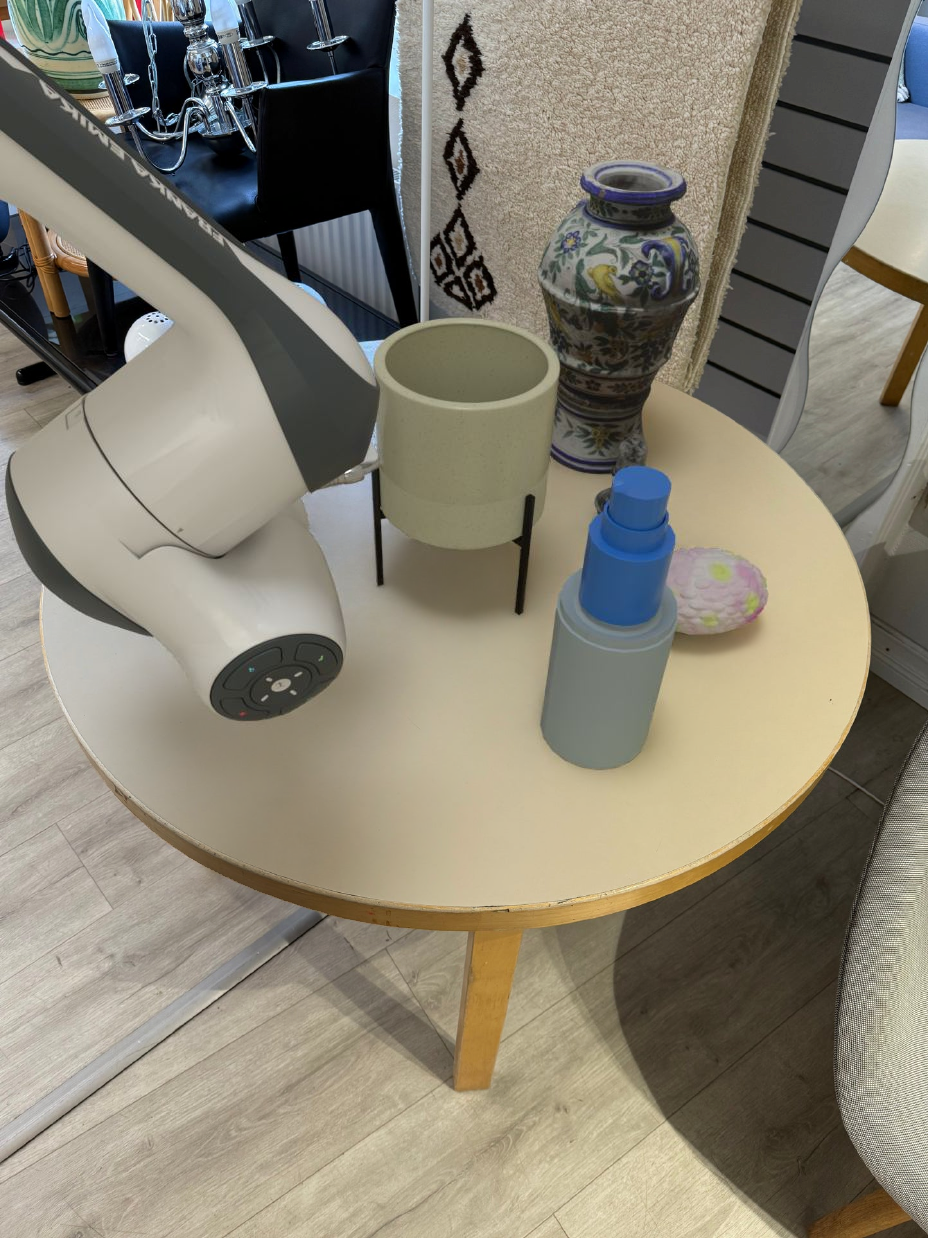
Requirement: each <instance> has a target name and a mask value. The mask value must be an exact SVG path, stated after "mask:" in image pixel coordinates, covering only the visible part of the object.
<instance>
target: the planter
mask: <svg viewBox="0 0 928 1238" xmlns="http://www.w3.org/2000/svg"><path fill="white" fill-rule="evenodd" d="M372 361H373V363H372V365H373V368H372V369H373V373H374V376H375V377H376V379H377V381H378V383H379V385H380V400H379V408H378V413H377V419H376V423H375V436H376V438H375V439H376V451H377V453H378V455H379V457H380V463H379V466H378V468H377V469H375V470H374V471H372V472H371V473H370V475H371V477H370V481H371V495H372V497H371V500H372V517H373V518H372V519H373V520H372V521H373V537H374V540H373V542H374V558H375V559H374V560H375V561H374V562H375V577H376V578H375V579H376V580H375V581H376V585H377V586H378V587H379V586H380V587H381V586H383V585H385V581H384V578H385V577H384V557H383V556H384V555H383V533H382V532H383V531H382V530H383V529H382V520H387V521H388V522H389V523H390V524H391V525H392V526H393V527H394V528H395V529H397V530H398V531H399V532H401V533H402V534H404V535H406V536H407V537H409V538H411V539H413V540H416V541H417V542H420V543H423V544H426V545H430V546H432V547H433V546H434V547H438V548H443V549H450V550H479V549H486V548H493V547H496V546H500V545H504V544H506V543H509V542H512V543H514V544H515V545H517V546H518V547H520V549H519V550H520V551H519V552H520V553H519V563H518V573H517V582H516V583H517V584H516V592H515V603H514V614H516V615H518V616H521V615H522V614H523V613H524V610H525V600H526V589H527V581H528V570H529V562H530V552H531V543H532V534H533V533H532V532H533V527H534V526H535V525H536V524H537V522H539V520H540V518H541V516H542V514H543V512H544V508H545V503H546V494H547V486H548V478H549V470H550V460H551V456H550V453H551V444H552V435H553V427H554V418H555V409H556V402H557V392H558V383H559V375H560V362H559V359H558V356H557V354H556V353H555V351H554V350H553V349H552V347H551V346H550V345H549V342H546V340H544V339H542V337H540V336H538V335H536V334H535V333H533V332H531V331H529V330H527V329H524V328H522V327H519V326H517V325H513V324H511V323H507V322H502V321H498V320H493V319H488V318H487V319H486V318H476V317H445V318H437V319H431V320H425V321H421V322H418V323H414V324H411V325H408V326H406V327H403V328H401V329H399V330H397V331H395V332H393V333H391V334H390V335H389V336H387V337H386V338H385V339H384V340H383V341H382V342H380V344H379V345H378V347H377V348H376V350H375V352H374V355H373V360H372Z"/></svg>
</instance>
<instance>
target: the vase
mask: <svg viewBox="0 0 928 1238" xmlns="http://www.w3.org/2000/svg"><path fill="white" fill-rule="evenodd" d="M579 179H580V180H579V185H580V187H581V189H582V190H583V191H584V192H585V193H586V194H588V195H589V197H583V198H581V199H580V200H579V201H578V202H577V203H576V205H575V207H573V208H572V209H571V210H570V211H569V212H568V213H567V215H566V216H565V217H564V218H563V219H562V221H560V223H558V225H557V226H556V227H555V229H554V230H553V231H552V232H551V234H550V235H549V237H548V238H547V241H546V243H545V246H544V249H543V251H542V255H541V261H540V262H539V264H538V267H537V272H536V273H537V275H536V276H537V283H538V284H539V288H540V290H541V293H542V297H543V301H544V306H545V310H546V314H547V315H546V316H547V320H548V329H549V339H548V344H549V345H550V346H551V347H552V349H553V350H554V351H555V353H556V354H557V356H558V359H559V362H560V375H559V383H558V392H557V401H556V409H555V418H554V427H553V435H552V444H551V453H550V458H552V459H554V460H555V461H557V463H559V464H561V465H563V466H565V467H567V468H569V469H571V470H574V471H578V472H582V473H587V474H595V475H606V474H607V475H609V474H611V469H612V467H613V466H615V465H616V463H617V457H618V452H619V446H620V444H621V443H622V442H623V441H624V440H625V439H628V438H633V437H632V435H634V434H635V433H637V434H638V435H639V438H638V439H641V440H643V441H644V442H645V438H644V437H645V436H644V429H643V418H642V415H643V409H644V407H645V404H646V401H648V398H649V397H650V394H651V391H652V384H653V382H654V380H655V378H656V376H657V374H658V372H659V370H660V369H661V368H662V367H663V366H664V365H666V364H667V363H668V361H670V359H671V357H672V355H673V347H674V345H675V341H676V339H677V336H678V334H679V331H680V329H681V327H682V325H683V322H684V320H685V318H686V315H687V314H688V312H689V309H690V307H691V306H692V305H693V304H694V303H695V301H696V300H697V298H698V296H699V294H700V291H701V288H702V287H701V286H702V283H701V282H702V281H701V277H700V272H701V271H700V269H701V266H700V265H701V263H700V255H699V254H700V253H699V249H698V245H697V241H696V240H695V238H694V236H693V234H692V232H691V230H689V228H688V227H687V225H686V224H685V223H684V222H683V221H682V220H681V219H680V218H679V217H678V216H677V215H676V214H675V213H674V211H673V210H672V208H671V205H672V203H674V202H677V201H679V200H681V199H683V197H684V196H685V195H686V193H687V192H688V185H687V182H686V180H685V178H684V177H683V175H682V174H681V173H679V171H678V170H675V169H673V168H671V167H669V166H666V165H663V164H660V163H655V162H652V161H651V162H650V161H646V160H638V159H613V160H605V161H601V162H600V161H599V162H597V163H594V164H591V165H590V166H589V167H587V168H586V169H585V170H584V171H583V172H582V174H581V176H580V178H579Z"/></svg>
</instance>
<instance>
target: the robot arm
mask: <svg viewBox="0 0 928 1238" xmlns="http://www.w3.org/2000/svg"><path fill="white" fill-rule="evenodd" d="M0 201H2V202H5V203H7V204H9V205H11V206H13V207H16V208H17V209H18V210H21V212H22V211H23V212H24V213H25V214H27V215H29V216H30V217H32V219H34V220H36V221H37V222H39V223H40V224H41V225H43V226H44V227H45V228H47V229H48V230H49V231H51V232H52V233H53V234H54V235H56V236H57V237H58V238H60V239H62V240H63V241H64V242H66V243H67V244H68V245H70V246H71V247H73V248H74V249H75V250H76V251H78V252H79V253H81V255H83V256H85V258H87V259H89V260H90V262H92V263H94V264H95V265H97V267H99V268H100V269H102V270H103V271H104V272H106V273H107V274H109V275H110V276H111V277H113V278H114V279H115V280H116V281H118V282H119V283H120V284H122V285H123V286H125V287H126V288H127V289H129V290H130V291H131V292H132V293H134V294H136V295H137V296H138V297H140V298H141V299H142V300H143V301H145V302H146V303H147V304H149V305H150V306H151V307H153V308H154V309H156V310H157V311H159V312H160V313H161V314H162V315H163V316H165V317H166V318H168V319H169V320H170V321H172V322H173V323H172V324H171V326H170V327H169V328H168V329H167V330H166V331H165V332H164V333H163V334H161V336H159V337H158V338H157V339H155V340H154V341H153V342H151V344H149V345H148V346H147V347H145V348H144V349H143V350H142V351H141V352H139V353H138V354H136V356H134V357H133V358H132V359H130V360H129V361H128V362H126V363H125V364H124V365H123V366H121V368H119V369H118V370H116V371H115V372H114V373H113V374H112V375H110V376H109V377H108V378H107V379H105V380H104V381H103V382H101V383H100V384H99V385H98V386H97V387H95V388H94V389H93V390H92V391H89V392H87V393H84V394H83V395H82V396H81V397H80V398H78V399H77V400H76V401H75V402H73V403H72V404H71V405H70V406H68V407H66V409H64V410H63V411H62V412H61V413H60V414H58V415H57V416H56V417H54V418H53V419H52V420H51V421H50V422H48V423H47V424H46V425H45V426H43V427H42V428H41V429H40V430H39V431H37V433H35V434H33V436H32V437H31V438H29V439H28V440H27V441H25V443H23V444H22V445H21V446H20V447H19V448H18V449H17V450H15V451H13V452H12V453H11V454H10V455H9V458H8V460H7V465H6V469H5V476H4V477H5V478H4V492H5V493H4V494H5V502H6V508H7V512H8V517H9V521H10V524H11V528H12V532H13V535H14V538H15V541H16V544H17V546H18V549H19V551H20V553H21V555H22V557H23V558H24V561H25V562H26V564H27V566H28V567H29V569H30V570H31V572H32V573H33V574H34V577H36V578H37V580H39V582H40V583H41V585H43V586H44V587H45V588H46V589H48V591H49V592H51V593H52V594H53V595H55V596H56V597H57V598H59V599H60V600H61V601H62V602H64V603H65V604H67V605H68V606H69V607H71V608H72V609H74V610H76V611H78V612H79V613H81V614H83V615H85V616H87V617H89V618H91V619H93V620H96V621H98V622H100V623H104V624H107V625H110V626H113V627H116V628H120V629H122V630H125V631H128V632H132V633H135V634H138V635H142V636H145V637H151V638H154V639H156V640H157V642H159V643H160V644H161V645H162V646H163V647H164V648H165V649H166V650H167V651H168V653H170V655H172V657H173V658H174V660H176V662H177V663H178V664H179V666H180V667H181V669H182V670H183V673H184V674H185V676H186V677H187V679H188V681H189V682H190V684H191V686H192V688H193V689H194V691H195V693H196V694H197V696H198V697H199V699H200V700H201V702H202V703H203V704H204V705H205V706H206V707H207V708H208V709H209V710H210V711H212V712H213V713H215V714H217V715H218V716H219V717H222V718H223V719H226V720H230V721H235V722H259V721H265V720H270V719H273V718H277V717H280V716H284V715H287V714H290V713H291V712H292V711H295V710H296V709H298V708H300V707H302V706H303V705H305V704H306V703H308V702H309V701H311V700H313V699H314V698H315V697H316V696H318V695H319V694H320V693H322V692H323V691H325V690H326V689H327V688H329V686H330V685H331V684H332V683H333V682H334V681H336V679H337V678H338V676H339V675H340V673H341V671H342V669H343V667H344V664H345V661H346V656H347V645H348V644H347V633H346V632H347V631H346V625H345V620H344V614H343V610H342V607H341V601H340V598H339V595H338V591H337V587H336V584H335V581H334V578H333V575H332V571H331V569H330V567H329V564H328V561H327V558H326V556H325V553H324V551H323V549H322V546H321V545H320V543H319V541H318V540H317V538H315V536H314V535H313V534H312V533H311V532H310V523H309V517H308V512H307V509H306V507H305V503H304V502H303V498H302V497H304V496H305V495H307V493H309V494H313V493H315V492H316V491H320V490H324V489H329V488H333V487H334V488H335V487H338V486H342V485H353V484H356V483H359V482H361V481H363V480H365V476H367V475H368V474H371V472H372V471H374V470H375V469H377V468H378V466H379V463H380V457H379V455H378V453H377V448H376V447H375V445H374V443H373V442H372V438H373V435H374V432H375V429H376V419H377V413H378V408H379V400H380V385H379V383H378V381H377V379H376V377H375V376H374V369H373V368H372V365H371V362H370V360H369V358H368V357H367V355H366V353H365V350H363V348H362V346H361V345H360V343H359V341H358V340H357V339H356V337H355V336H354V334H353V333H352V332H351V331H350V329H349V328H348V327H347V326H346V325H345V323H344V322H343V321H342V320H341V319H340V318H339V317H338V316H337V314H335V313H334V312H333V311H332V310H331V309H330V308H329V307H328V306H327V305H325V304H324V303H323V302H322V301H320V300H319V298H316V297H315V296H314V295H312V294H311V293H309V292H308V291H306V289H304V288H302V287H300V286H299V285H298V284H296V283H295V282H293V281H291V280H289V279H288V278H286V276H284V275H283V274H281V272H280V271H278V270H277V269H275V268H274V267H273V266H271V265H270V263H268V262H266V261H265V260H264V259H263V258H262V257H260V256H258V254H256V253H255V252H253V251H252V250H251V249H250V248H248V247H247V246H246V245H245V244H243V243H242V242H241V241H240V240H238V239H237V238H236V237H235V236H234V235H232V234H231V233H230V232H229V231H228V230H227V229H225V228H224V227H223V226H222V225H221V224H219V223H218V222H217V221H216V220H215V219H214V218H213V217H211V216H210V215H209V214H208V213H207V212H206V211H205V210H203V208H202V207H200V206H199V205H198V204H197V203H196V202H194V201H193V200H192V199H191V198H189V196H187V195H186V193H184V191H182V190H180V189H179V188H178V187H177V186H176V185H175V184H174V183H172V182H171V181H170V180H169V179H168V178H167V177H165V175H164V174H162V173H161V172H160V171H159V170H158V169H157V168H156V167H154V166H153V165H152V164H151V163H150V162H149V161H148V160H146V159H145V158H144V157H143V156H142V155H141V154H139V153H138V152H137V151H136V150H135V149H134V148H133V147H131V146H130V145H129V144H128V143H127V142H126V141H124V140H123V139H122V137H120V136H119V135H118V134H116V133H115V132H114V131H113V130H112V129H111V128H109V126H108V125H106V124H105V123H104V122H103V121H102V120H101V119H99V118H98V117H97V116H96V115H94V113H92V112H91V111H90V110H89V109H88V108H87V107H86V106H84V104H83V103H81V102H80V101H79V100H78V99H76V98H75V97H74V96H73V95H72V94H71V93H69V92H68V91H67V90H66V89H65V88H64V87H62V86H61V85H60V84H59V83H58V82H57V81H55V80H54V79H53V78H52V77H51V76H49V75H48V74H47V73H46V72H45V71H43V70H42V69H41V67H39V66H38V65H36V64H35V63H34V62H33V61H32V60H31V59H29V58H28V57H27V56H26V55H25V54H24V53H22V52H21V51H19V49H17V48H16V47H15V46H14V45H12V43H10V42H9V41H8V40H6V38H4V37H3V36H1V35H0Z"/></svg>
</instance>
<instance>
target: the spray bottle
mask: <svg viewBox="0 0 928 1238" xmlns="http://www.w3.org/2000/svg"><path fill="white" fill-rule="evenodd" d="M612 481H613V485H612V484H611V486H612V491H611V497H610V500H608V501H607V503H606V504H605V505H604V511H603V512H602V513H600V514H599V515H598V514H597V515H595V516H594V518H593V519H592V520H591V522H590V523H589V526H588V532H587V537H586V544H585V551H584V558H583V564H582V567H580V568H579V569H578V570H576V571H574V572H573V573H572V574H570V575H568V577H567V579H566V580H565V582H563V585H562V586H561V590H560V591H559V593H558V594H557V601H556V607H555V609H556V610H555V615H554V623H553V630H552V637H551V645H550V650H549V651H550V652H549V659H548V666H547V673H546V680H545V689H544V696H543V704H542V710H541V716H540V723H539V725H540V729H541V734H542V736H543V739H544V741H545V742H546V743H547V745H548V746H549V748H550V749H551V751H553V752H554V753H555V754H557V755H558V756H559V757H560V758H561V759H563V760H564V761H566V762H568V763H570V764H573V765H575V766H578V767H579V768H585V769H593V770H608V769H616V768H618V767H621V766H623V765H625V764H629V763H630V762H631V761H633V760H634V759H635V758H636V757H637V756H638V755H639V754H640V753H641V752H642V749H643V747H644V746H645V743H646V741H647V738H648V734H649V731H650V726H651V723H652V719H653V715H654V712H655V708H656V704H657V701H658V697H659V694H660V690H661V687H662V682H663V678H664V675H665V672H666V668H667V664H668V660H669V656H670V652H671V650H672V645H673V642H674V637H675V634H676V627H677V601H676V599H675V596H674V594H673V592H672V590H671V589H670V588H669V587H668V586H667V585H666V580H667V576H668V572H669V568H670V564H671V560H672V555H673V552H674V551H675V548H676V547H675V546H676V534H675V531H674V529H673V528H672V526H671V525H670V524H669V521H670V513H669V511H668V504H669V500H670V496H671V492H672V482H671V480H670V478H669V476H667V475H666V474H665V473H664V471H663V472H662V471H660V470H659V469H656V468H653V467H649V466H645V467H644V466H630V467H626V468H623V469H621V470H619V471H618V472H617V473H616V475H615V476H614V480H613V479H612Z"/></svg>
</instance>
